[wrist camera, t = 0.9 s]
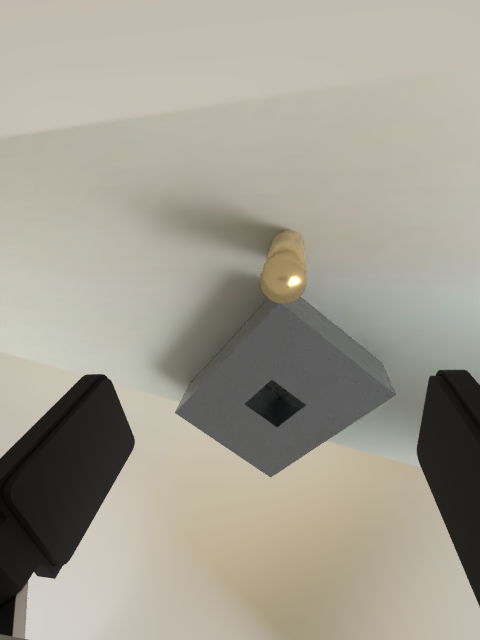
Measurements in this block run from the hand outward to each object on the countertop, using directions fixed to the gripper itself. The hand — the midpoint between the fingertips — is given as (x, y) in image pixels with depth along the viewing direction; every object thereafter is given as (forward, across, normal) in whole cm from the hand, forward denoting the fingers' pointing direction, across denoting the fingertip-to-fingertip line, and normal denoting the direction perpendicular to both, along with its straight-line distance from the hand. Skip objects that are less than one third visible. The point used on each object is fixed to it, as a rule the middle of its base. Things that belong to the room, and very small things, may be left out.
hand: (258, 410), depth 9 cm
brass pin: (+22, 0, 0) cm, 22 cm away
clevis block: (+22, +2, +15) cm, 27 cm away
